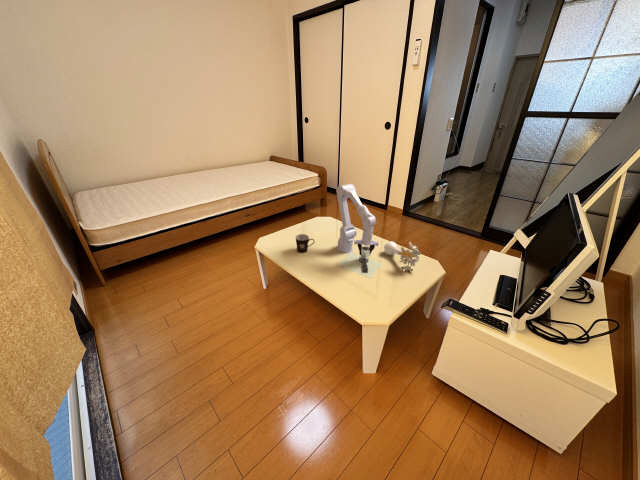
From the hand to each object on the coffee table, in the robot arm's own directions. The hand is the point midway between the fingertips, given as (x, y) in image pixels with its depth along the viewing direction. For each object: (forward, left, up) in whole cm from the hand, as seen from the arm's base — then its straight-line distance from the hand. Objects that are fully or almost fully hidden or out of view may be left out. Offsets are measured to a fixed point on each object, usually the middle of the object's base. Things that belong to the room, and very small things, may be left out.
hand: (364, 254), depth 152 cm
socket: (0, 0, -1) cm, 1 cm away
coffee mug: (-37, -13, -5) cm, 39 cm away
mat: (0, -5, -5) cm, 7 cm away
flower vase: (+18, +13, -5) cm, 23 cm away
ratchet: (+2, -4, -4) cm, 6 cm away
